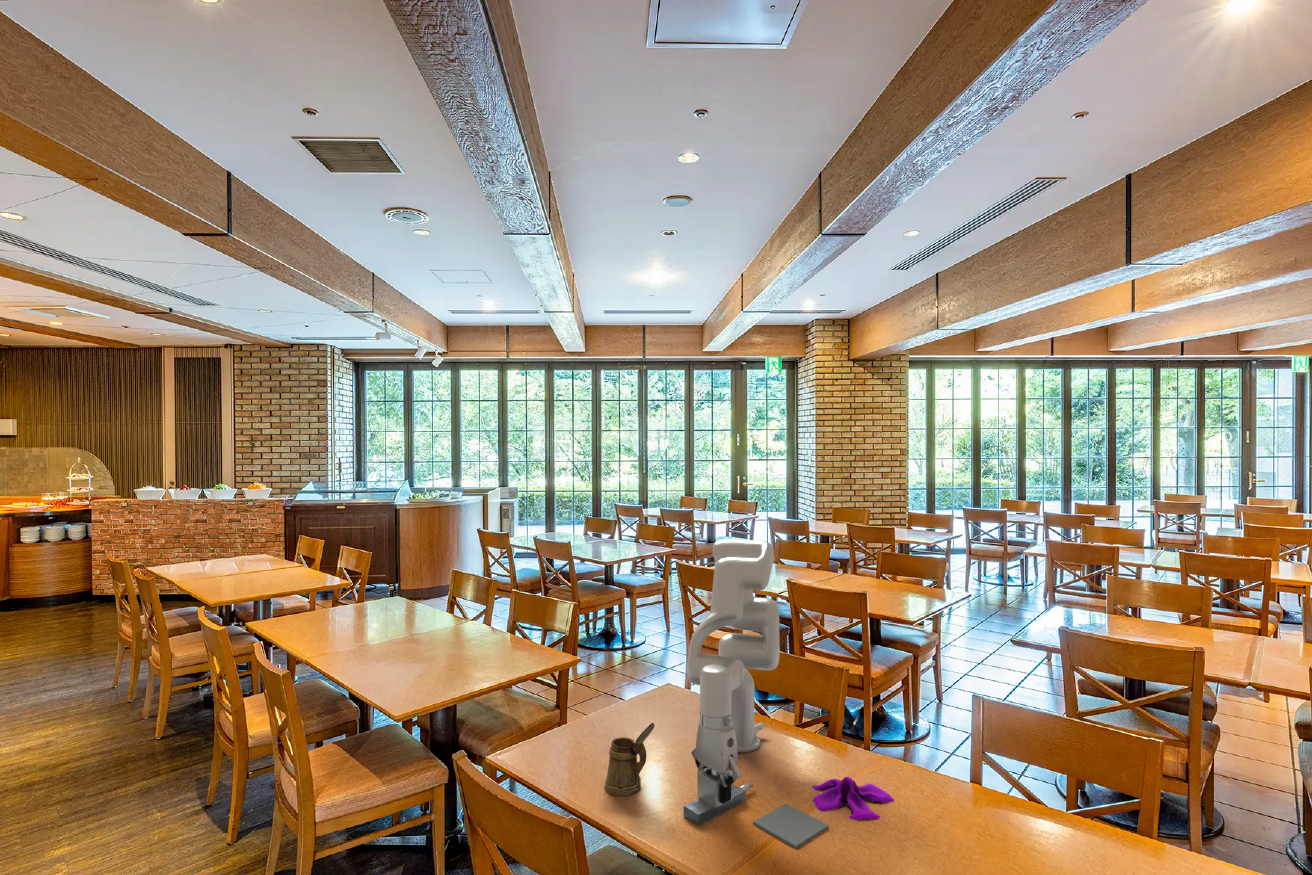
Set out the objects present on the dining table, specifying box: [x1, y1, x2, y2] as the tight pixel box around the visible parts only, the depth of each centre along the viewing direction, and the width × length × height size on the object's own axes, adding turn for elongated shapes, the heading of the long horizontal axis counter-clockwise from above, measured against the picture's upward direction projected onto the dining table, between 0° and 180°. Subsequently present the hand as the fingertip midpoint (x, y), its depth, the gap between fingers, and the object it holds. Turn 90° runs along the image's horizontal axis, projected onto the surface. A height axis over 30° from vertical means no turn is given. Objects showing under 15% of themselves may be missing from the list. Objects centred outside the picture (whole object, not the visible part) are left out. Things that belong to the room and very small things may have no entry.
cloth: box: [812, 776, 895, 821], centre depth 159 cm, size 22×19×6 cm
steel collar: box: [697, 767, 734, 808], centre depth 154 cm, size 6×6×6 cm
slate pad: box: [752, 803, 830, 850], centre depth 147 cm, size 12×12×1 cm
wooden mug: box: [604, 722, 656, 797], centre depth 163 cm, size 9×14×18 cm, turn 59°
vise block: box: [683, 769, 754, 827], centre depth 156 cm, size 21×5×12 cm, turn 131°
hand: (715, 794), depth 154 cm, fingers closed on steel collar, 6 cm apart
